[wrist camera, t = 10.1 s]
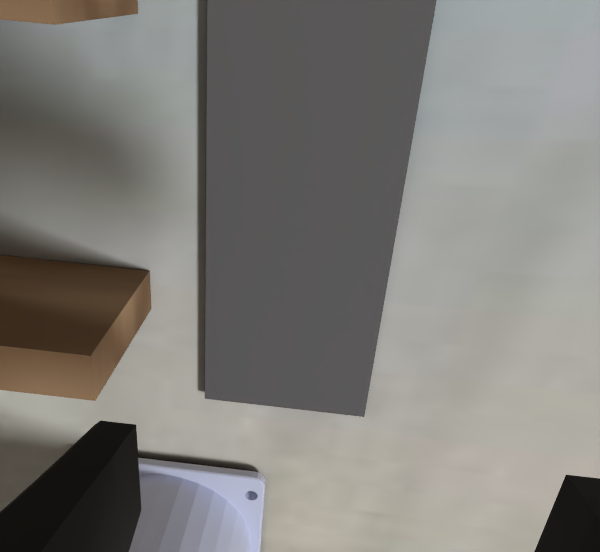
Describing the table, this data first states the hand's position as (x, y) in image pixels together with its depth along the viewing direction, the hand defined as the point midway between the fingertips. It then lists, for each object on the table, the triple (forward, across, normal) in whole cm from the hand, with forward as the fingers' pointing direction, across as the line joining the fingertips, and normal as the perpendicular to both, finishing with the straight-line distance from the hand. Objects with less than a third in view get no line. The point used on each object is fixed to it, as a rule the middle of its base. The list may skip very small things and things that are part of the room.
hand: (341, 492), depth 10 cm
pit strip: (+10, +2, -2) cm, 10 cm away
